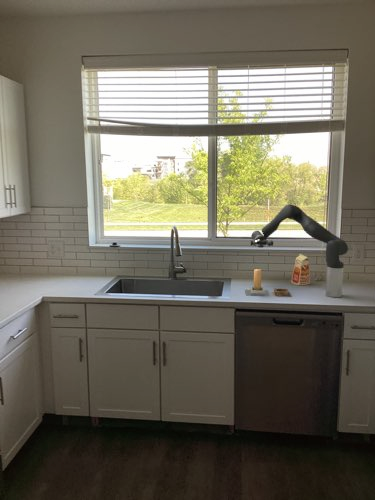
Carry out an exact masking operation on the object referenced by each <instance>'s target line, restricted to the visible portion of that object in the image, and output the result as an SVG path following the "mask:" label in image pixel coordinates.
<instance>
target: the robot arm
mask: <svg viewBox="0 0 375 500" xmlns="http://www.w3.org/2000/svg"><path fill="white" fill-rule="evenodd" d="M287 219H289V220H293V221H295V222H297V223H298V224H299V225H301V227H302V229H303V231H304V232H305V233H306V234H307V235H308V236H310V237H311V238H312V239H315V240H316V241H319V242H321V243H324V244H326V248H325V263H326V276H325V277H326V279H325V294H324V295H325V296H327V297H331V298H342V297H343V281H344V268H345V267H344V266H345V265H344V262H342V261H341V260H340V256H343V255H345V254H347V252H349V246H348V243H347V242H346V241H345V240H343V239H342V238H340V237H339V236H337V235H335V234H334V233H332V232H331V231H330V230H328V229H327V228H325V227H324V226H323V225H322V224H321V223H319V222H318V221H316V220H315V219H313V218H312V217H310V216H309V215H308V214H306V213H305V212H304V211H303V209H301V208H300V206H297V205H294V204H289V203H288V204H286V205H284V206H283V207H282V209H280V211H279V212H278V213H277V214H276V215H275V216H274V218H272V220H271V221H270V222H268V223H267V224H266V225H264V226H263V228H262V229H261V231H259V230H254V231H253V232H252V233H251V236H250V237H251V240H250V246H254V247H258V248H261V249H262V248H264V247H271V246H272V247H273V246H274V241H273V240H267V239H268V238H269V237H270V236H272V234H274V233H275V232H276V231H277V230H278V228H279V227H280V225H281V223H282V222H283V221H285V220H287Z"/></svg>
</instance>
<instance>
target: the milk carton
mask: <svg viewBox="0 0 375 500" xmlns="http://www.w3.org/2000/svg"><path fill="white" fill-rule="evenodd" d="M309 264H310V263H309V259H308V256H306V255H303V254H302V253H299V255H298V256H296V258H295V262H294V267H293V270H292V275H291V276H292V277H291V281H290V283H291V284H294V285H296V286H305V285H306V286H307V285H309V284H310V281H311V279H310V265H309Z"/></svg>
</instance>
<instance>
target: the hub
mask: <svg viewBox="0 0 375 500" xmlns="http://www.w3.org/2000/svg"><path fill="white" fill-rule="evenodd" d="M249 288H250V289H244V293H245V296H246V297H247V296H248V297H271V294H270V292H269V290H268V289H267V290H266V289H265V288H264V287H263V286H261V290H254V286H250V287H249Z"/></svg>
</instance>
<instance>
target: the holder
mask: <svg viewBox="0 0 375 500" xmlns="http://www.w3.org/2000/svg"><path fill="white" fill-rule="evenodd" d="M271 293H272V296H273V297H279V298H280V297H282V298H283V297H284V298H288V297H289V298H291V297H292V296H291V293H290V290H289V289H288V288H281V287H280V288H278V287H276V288H275V287H274V288H273V291H271Z"/></svg>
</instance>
